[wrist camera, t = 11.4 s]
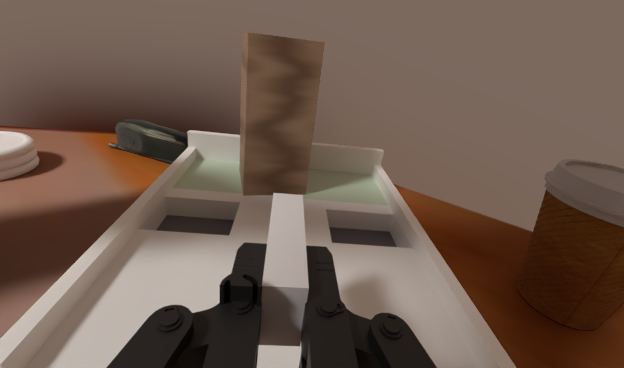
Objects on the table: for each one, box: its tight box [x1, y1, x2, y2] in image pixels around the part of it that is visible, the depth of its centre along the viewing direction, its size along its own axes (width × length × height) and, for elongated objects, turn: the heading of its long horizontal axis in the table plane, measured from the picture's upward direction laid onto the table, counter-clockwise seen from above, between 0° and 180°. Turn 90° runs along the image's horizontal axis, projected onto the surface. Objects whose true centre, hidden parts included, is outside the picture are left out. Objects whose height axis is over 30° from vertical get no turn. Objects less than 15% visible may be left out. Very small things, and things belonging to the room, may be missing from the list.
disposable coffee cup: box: [517, 160, 624, 330], centre depth 26 cm, size 10×10×12 cm
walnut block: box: [239, 32, 324, 196], centre depth 34 cm, size 7×7×16 cm
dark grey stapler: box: [109, 120, 188, 164], centre depth 46 cm, size 5×3×15 cm
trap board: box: [0, 130, 516, 368], centre depth 29 cm, size 31×26×6 cm
